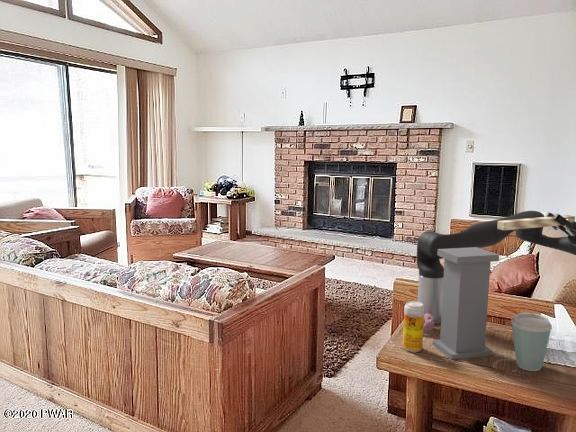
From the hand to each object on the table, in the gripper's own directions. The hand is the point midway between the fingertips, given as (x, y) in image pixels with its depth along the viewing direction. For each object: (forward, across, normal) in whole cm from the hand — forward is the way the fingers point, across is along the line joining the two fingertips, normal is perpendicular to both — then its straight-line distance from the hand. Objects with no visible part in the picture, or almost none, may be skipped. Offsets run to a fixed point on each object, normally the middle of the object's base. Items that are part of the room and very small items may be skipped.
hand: (551, 215), depth 148 cm
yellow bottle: (+17, +4, -59) cm, 62 cm away
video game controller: (+8, +17, -54) cm, 57 cm away
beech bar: (+3, 0, -6) cm, 6 cm away
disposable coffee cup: (-6, -14, -45) cm, 48 cm away
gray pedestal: (+4, 0, -51) cm, 52 cm away
